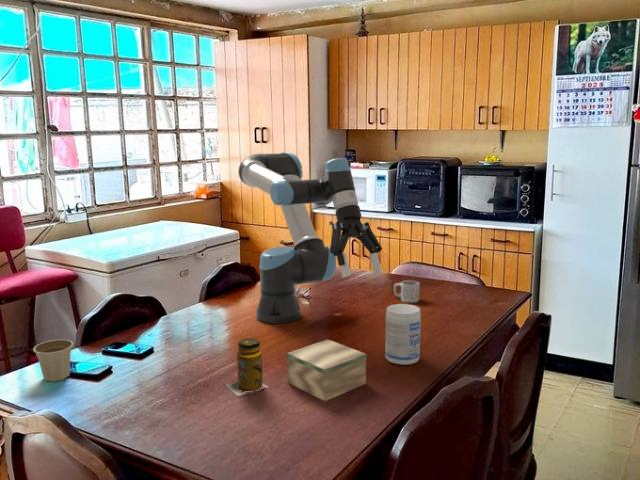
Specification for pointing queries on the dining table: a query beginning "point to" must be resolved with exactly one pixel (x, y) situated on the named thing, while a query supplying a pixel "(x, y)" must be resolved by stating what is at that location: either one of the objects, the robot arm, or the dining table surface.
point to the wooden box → (326, 369)
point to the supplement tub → (402, 334)
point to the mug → (408, 291)
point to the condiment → (248, 367)
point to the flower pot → (54, 359)
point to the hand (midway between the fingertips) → (363, 275)
